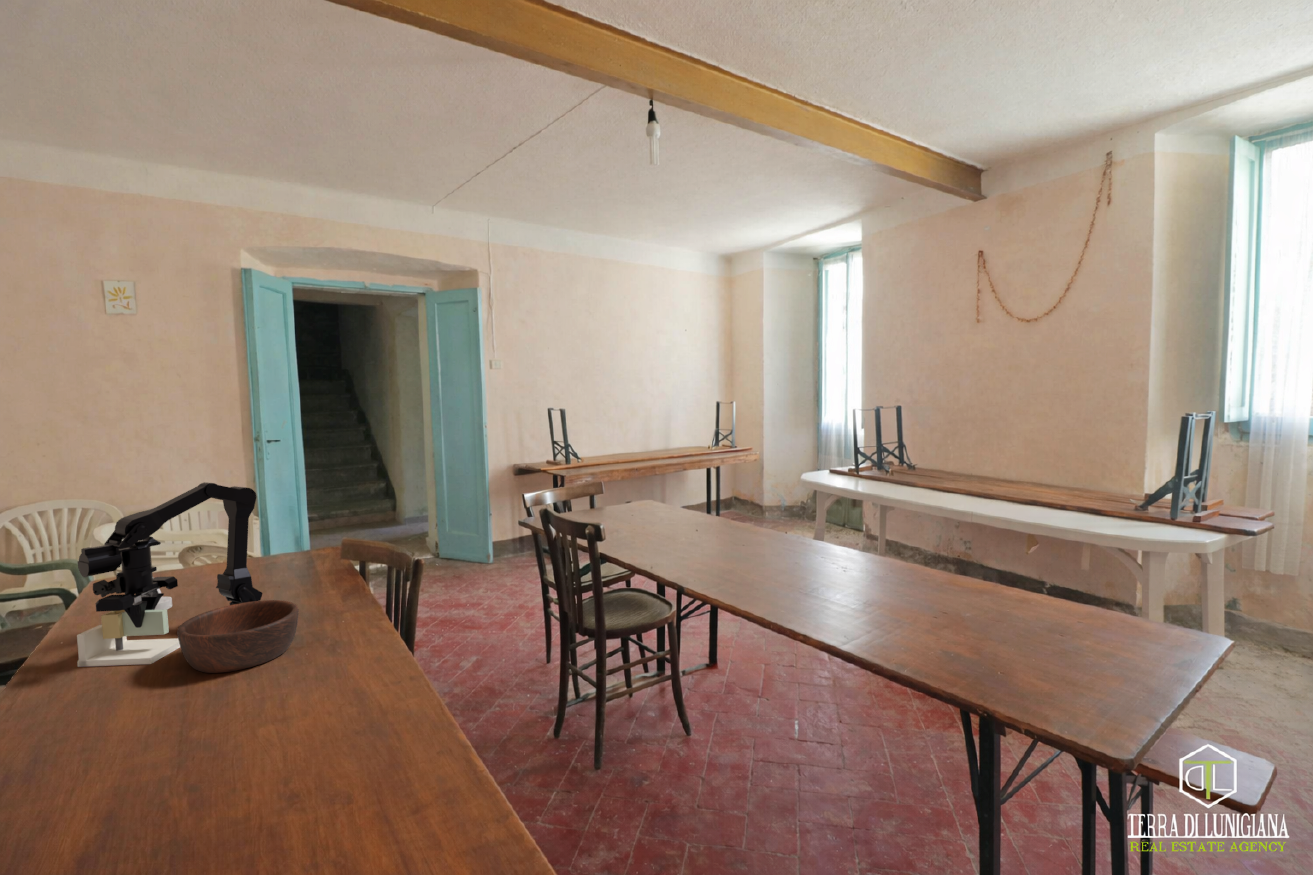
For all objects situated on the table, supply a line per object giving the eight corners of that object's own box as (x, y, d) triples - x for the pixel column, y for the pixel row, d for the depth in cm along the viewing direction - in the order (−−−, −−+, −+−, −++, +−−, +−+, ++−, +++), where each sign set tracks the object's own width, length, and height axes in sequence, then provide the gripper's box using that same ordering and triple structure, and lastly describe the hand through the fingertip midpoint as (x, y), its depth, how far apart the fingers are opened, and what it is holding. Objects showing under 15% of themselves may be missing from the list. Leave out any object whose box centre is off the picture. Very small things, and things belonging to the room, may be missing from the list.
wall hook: (164, 572, 189) (173, 578, 183) (166, 601, 190) (175, 607, 184) (129, 579, 183) (137, 585, 177) (131, 609, 183) (140, 616, 177)
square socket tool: (172, 630, 152) (170, 607, 152) (160, 636, 148) (158, 613, 148) (116, 632, 151) (114, 609, 151) (103, 638, 147) (101, 615, 147)
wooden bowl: (240, 683, 134) (237, 640, 134) (152, 674, 139) (149, 632, 139) (322, 639, 159) (320, 602, 158) (245, 632, 164) (243, 596, 163)
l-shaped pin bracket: (186, 643, 157) (184, 614, 156) (150, 663, 145) (148, 632, 144) (119, 645, 156) (117, 616, 155) (77, 666, 144) (75, 635, 143)
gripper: (133, 556, 157) (138, 613, 159) (68, 578, 139) (74, 642, 140) (177, 555, 158) (181, 611, 159) (118, 576, 140) (123, 640, 141)
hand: (141, 625), depth 150 cm, fingers closed on square socket tool, 2 cm apart
